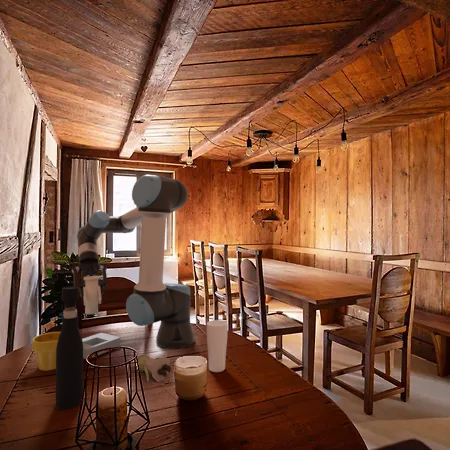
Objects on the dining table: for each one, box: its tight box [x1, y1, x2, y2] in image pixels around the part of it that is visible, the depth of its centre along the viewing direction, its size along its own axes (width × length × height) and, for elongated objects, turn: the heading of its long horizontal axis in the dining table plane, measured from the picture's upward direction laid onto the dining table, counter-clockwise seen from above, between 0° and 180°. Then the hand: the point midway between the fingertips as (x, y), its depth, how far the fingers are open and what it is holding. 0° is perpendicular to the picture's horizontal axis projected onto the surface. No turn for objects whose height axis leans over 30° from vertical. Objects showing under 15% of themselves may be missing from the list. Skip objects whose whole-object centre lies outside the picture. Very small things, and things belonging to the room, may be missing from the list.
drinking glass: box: [206, 319, 228, 373], centre depth 105 cm, size 7×7×15 cm
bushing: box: [84, 275, 101, 315], centre depth 127 cm, size 6×6×14 cm
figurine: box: [132, 351, 172, 382], centre depth 101 cm, size 9×7×15 cm
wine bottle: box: [55, 285, 84, 411], centre depth 84 cm, size 6×6×30 cm
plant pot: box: [31, 331, 61, 372], centre depth 106 cm, size 10×10×10 cm
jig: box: [82, 332, 121, 360], centre depth 121 cm, size 11×15×4 cm
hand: (92, 302), depth 123 cm, fingers closed on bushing, 4 cm apart
